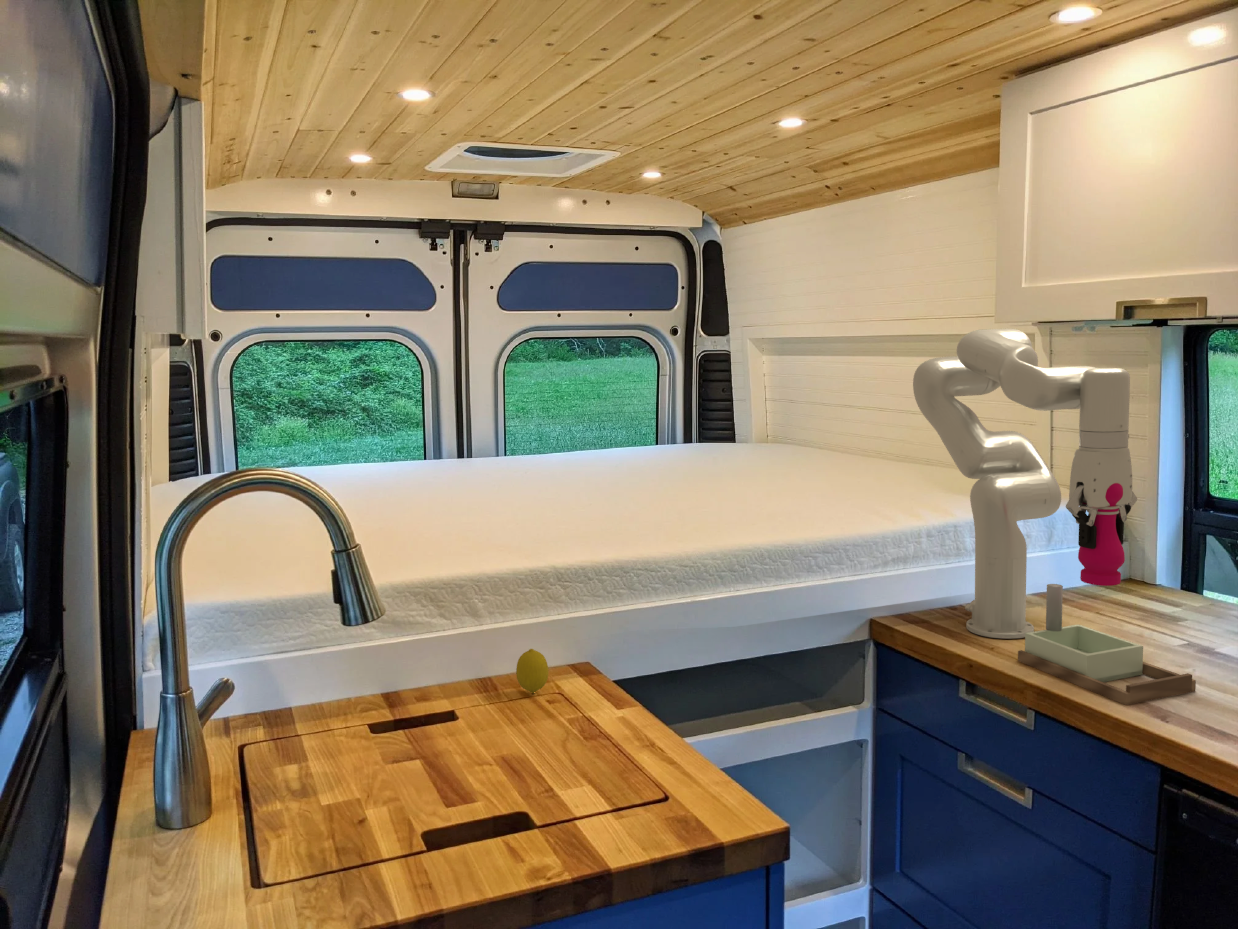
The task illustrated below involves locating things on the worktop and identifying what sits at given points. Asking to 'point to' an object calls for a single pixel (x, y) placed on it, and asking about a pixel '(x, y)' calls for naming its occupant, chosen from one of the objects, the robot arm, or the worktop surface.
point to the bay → (1134, 693)
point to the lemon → (532, 670)
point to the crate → (1083, 645)
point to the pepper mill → (1104, 545)
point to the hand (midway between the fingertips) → (1100, 544)
